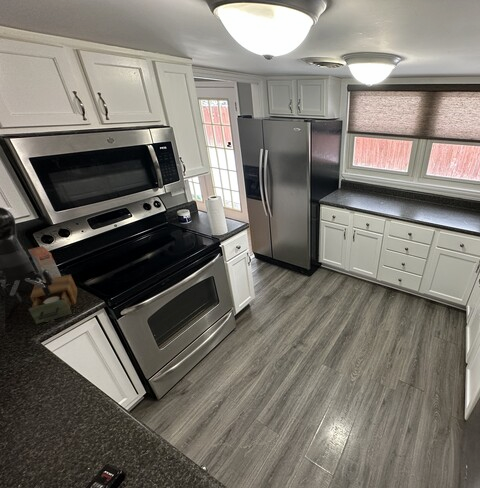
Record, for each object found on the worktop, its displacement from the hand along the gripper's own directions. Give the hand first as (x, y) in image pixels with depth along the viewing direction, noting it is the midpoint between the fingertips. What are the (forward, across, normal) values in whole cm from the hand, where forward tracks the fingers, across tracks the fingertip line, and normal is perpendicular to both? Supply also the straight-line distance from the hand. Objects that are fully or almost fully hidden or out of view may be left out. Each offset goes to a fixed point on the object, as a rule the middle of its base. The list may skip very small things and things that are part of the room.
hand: (34, 298), depth 103 cm
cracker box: (+18, +3, -44) cm, 48 cm away
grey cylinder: (+16, 0, -15) cm, 22 cm away
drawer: (+17, 0, -13) cm, 22 cm away
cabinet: (+18, 0, -26) cm, 31 cm away
